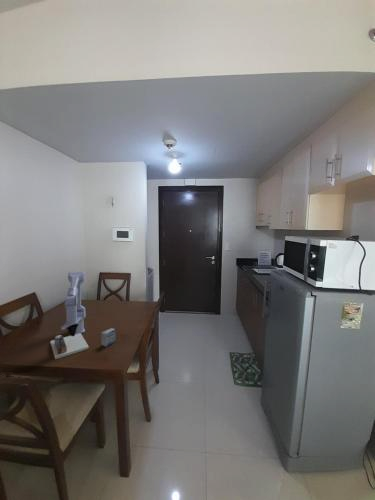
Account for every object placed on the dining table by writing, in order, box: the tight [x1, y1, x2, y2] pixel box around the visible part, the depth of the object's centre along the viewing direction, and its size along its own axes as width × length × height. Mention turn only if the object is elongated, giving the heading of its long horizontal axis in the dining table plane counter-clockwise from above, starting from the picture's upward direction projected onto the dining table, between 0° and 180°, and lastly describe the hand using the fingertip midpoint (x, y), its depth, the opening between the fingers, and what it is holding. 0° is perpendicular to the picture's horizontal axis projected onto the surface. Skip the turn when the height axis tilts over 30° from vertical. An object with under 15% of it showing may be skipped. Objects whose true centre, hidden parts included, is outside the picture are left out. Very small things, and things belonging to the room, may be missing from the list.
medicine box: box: [100, 327, 117, 347], centre depth 140 cm, size 8×4×9 cm, turn 151°
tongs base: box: [53, 338, 62, 354], centre depth 133 cm, size 17×5×3 cm, turn 38°
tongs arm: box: [54, 334, 67, 352], centre depth 133 cm, size 16×4×4 cm, turn 37°
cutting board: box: [50, 333, 90, 360], centre depth 137 cm, size 22×18×2 cm
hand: (72, 335), depth 135 cm, fingers closed
